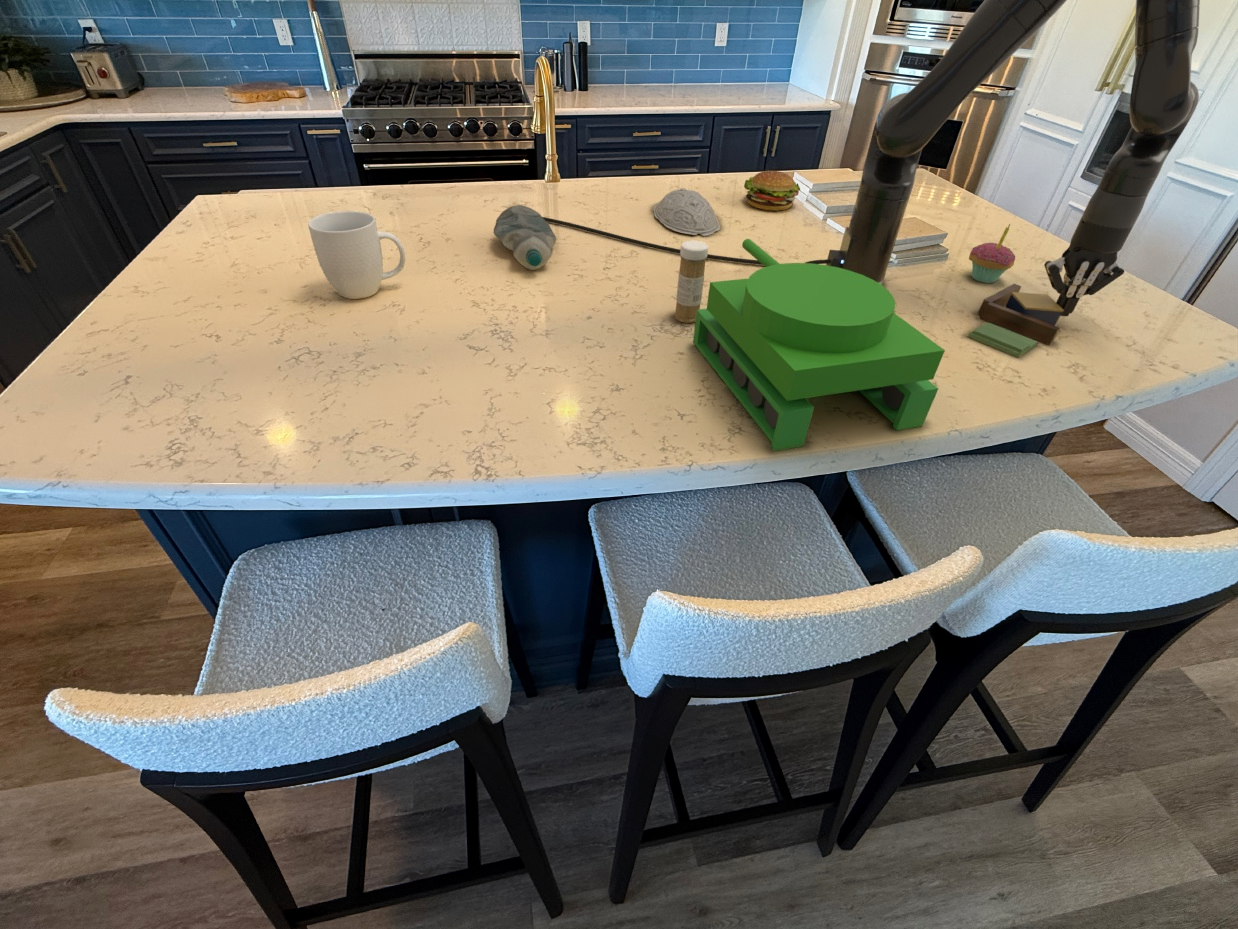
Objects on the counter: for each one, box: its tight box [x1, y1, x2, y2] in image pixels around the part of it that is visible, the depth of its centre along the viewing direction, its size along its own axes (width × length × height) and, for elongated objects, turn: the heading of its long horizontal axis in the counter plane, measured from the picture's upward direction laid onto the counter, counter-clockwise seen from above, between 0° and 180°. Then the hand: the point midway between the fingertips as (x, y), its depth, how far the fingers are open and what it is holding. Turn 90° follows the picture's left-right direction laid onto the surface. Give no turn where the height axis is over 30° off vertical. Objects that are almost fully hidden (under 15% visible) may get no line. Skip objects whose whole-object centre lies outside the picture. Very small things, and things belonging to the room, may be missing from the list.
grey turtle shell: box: [653, 187, 721, 237], centre depth 153 cm, size 16×25×7 cm, turn 8°
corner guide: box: [977, 283, 1062, 346], centre depth 117 cm, size 10×19×3 cm, turn 174°
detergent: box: [493, 204, 557, 271], centre depth 131 cm, size 13×7×25 cm
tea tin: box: [1005, 291, 1064, 326], centre depth 116 cm, size 7×7×4 cm
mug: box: [307, 210, 406, 300], centre depth 113 cm, size 15×11×13 cm
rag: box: [967, 321, 1039, 358], centre depth 110 cm, size 9×7×1 cm
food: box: [743, 170, 801, 212], centre depth 163 cm, size 14×14×8 cm
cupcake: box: [968, 223, 1016, 284], centre depth 128 cm, size 9×8×12 cm
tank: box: [692, 238, 946, 452], centre depth 94 cm, size 24×35×16 cm
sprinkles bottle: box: [674, 240, 709, 324], centre depth 109 cm, size 5×5×13 cm
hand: (1060, 314), depth 116 cm, fingers closed
